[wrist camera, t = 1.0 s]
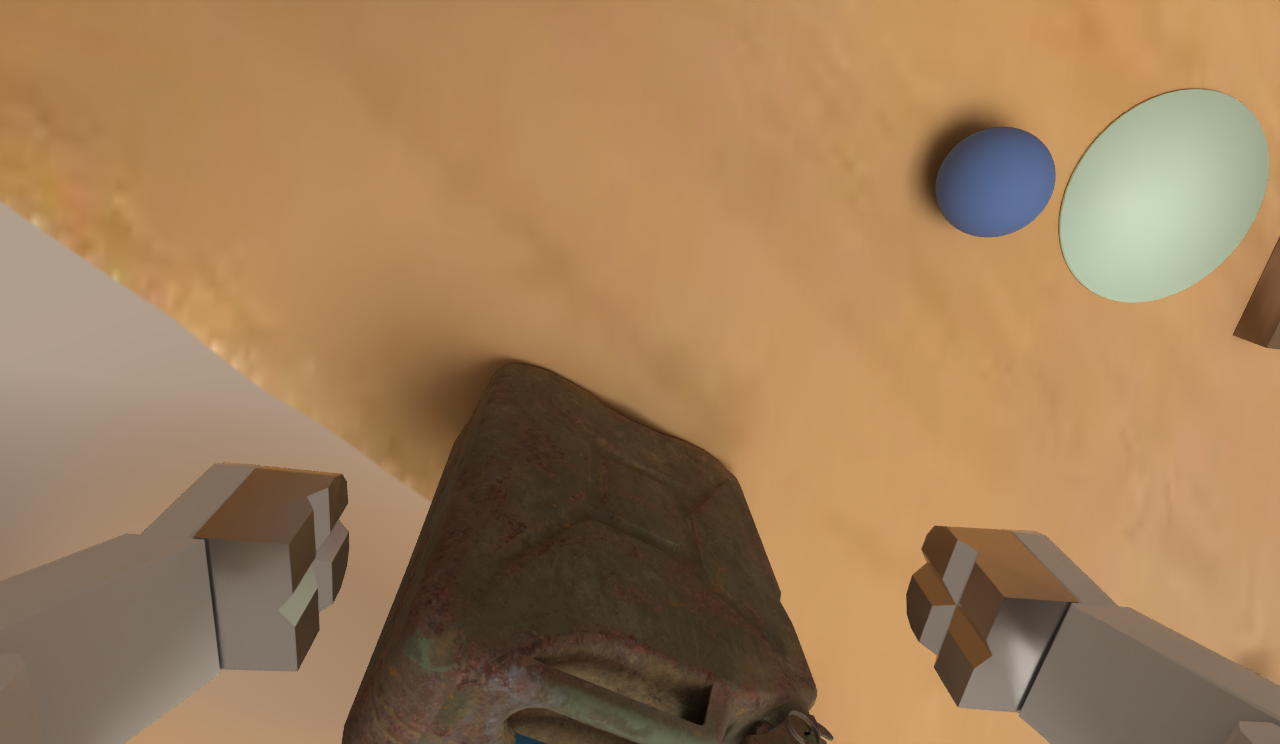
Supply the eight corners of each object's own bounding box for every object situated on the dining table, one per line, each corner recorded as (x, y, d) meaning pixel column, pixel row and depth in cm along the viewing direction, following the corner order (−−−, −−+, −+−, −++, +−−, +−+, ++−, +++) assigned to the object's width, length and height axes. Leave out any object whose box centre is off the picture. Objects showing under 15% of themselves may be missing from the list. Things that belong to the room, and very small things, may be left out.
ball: (933, 118, 39) (988, 122, 34) (1029, 131, 40) (1098, 137, 34) (906, 221, 42) (953, 240, 36) (996, 231, 42) (1057, 252, 37)
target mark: (1105, 75, 39) (1107, 75, 39) (1304, 104, 40) (1307, 104, 40) (1029, 291, 44) (1031, 291, 44) (1209, 310, 45) (1212, 311, 45)
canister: (451, 443, 46) (305, 801, 23) (507, 341, 43) (408, 627, 20) (684, 550, 50) (760, 939, 27) (747, 464, 48) (890, 812, 25)
